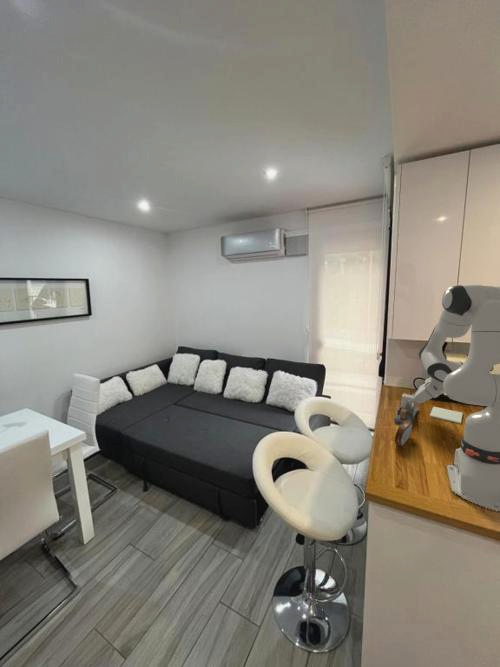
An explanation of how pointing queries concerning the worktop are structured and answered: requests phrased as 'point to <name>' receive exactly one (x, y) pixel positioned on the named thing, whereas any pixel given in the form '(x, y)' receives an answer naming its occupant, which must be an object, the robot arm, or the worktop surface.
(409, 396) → the grey rectangular block
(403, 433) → the tin
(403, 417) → the hand plane
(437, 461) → the worktop surface
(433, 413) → the cutting board
